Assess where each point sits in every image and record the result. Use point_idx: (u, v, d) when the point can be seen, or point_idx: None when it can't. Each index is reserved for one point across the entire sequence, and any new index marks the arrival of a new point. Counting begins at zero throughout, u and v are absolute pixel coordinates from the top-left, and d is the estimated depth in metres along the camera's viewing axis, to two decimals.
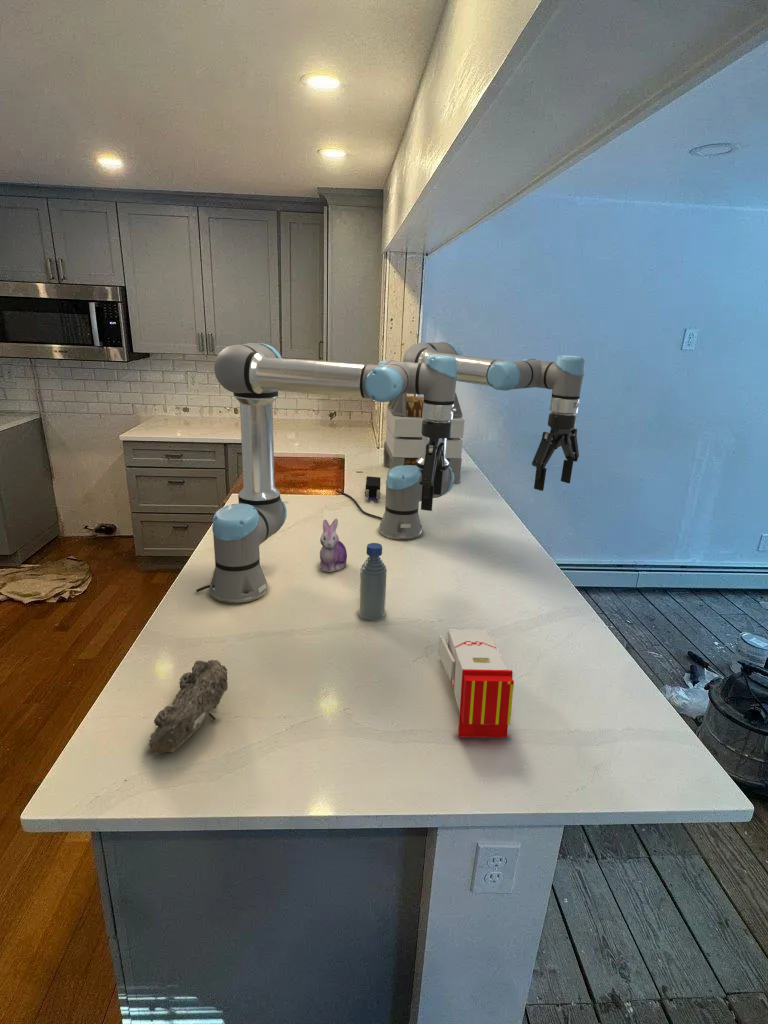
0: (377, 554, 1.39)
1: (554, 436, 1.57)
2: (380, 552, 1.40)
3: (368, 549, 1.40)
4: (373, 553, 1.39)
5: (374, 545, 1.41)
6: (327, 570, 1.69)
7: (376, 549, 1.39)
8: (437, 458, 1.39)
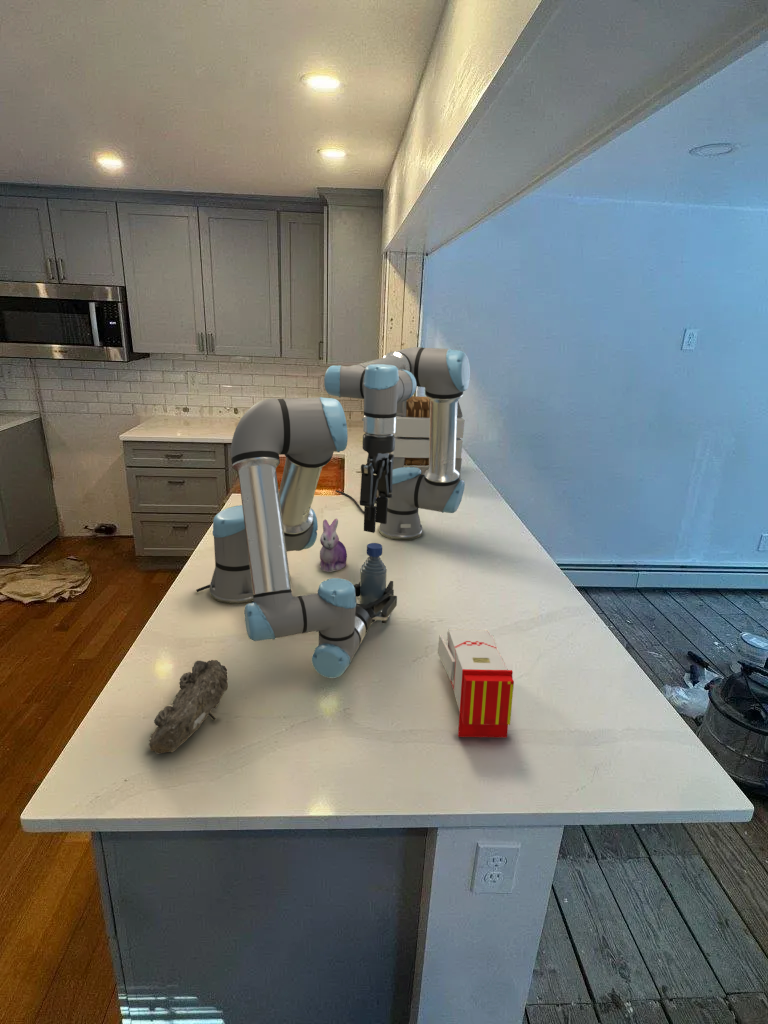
0: (377, 554, 1.39)
1: None
2: (380, 552, 1.40)
3: (368, 549, 1.40)
4: (373, 553, 1.39)
5: (374, 545, 1.41)
6: (327, 570, 1.69)
7: (376, 549, 1.39)
8: None
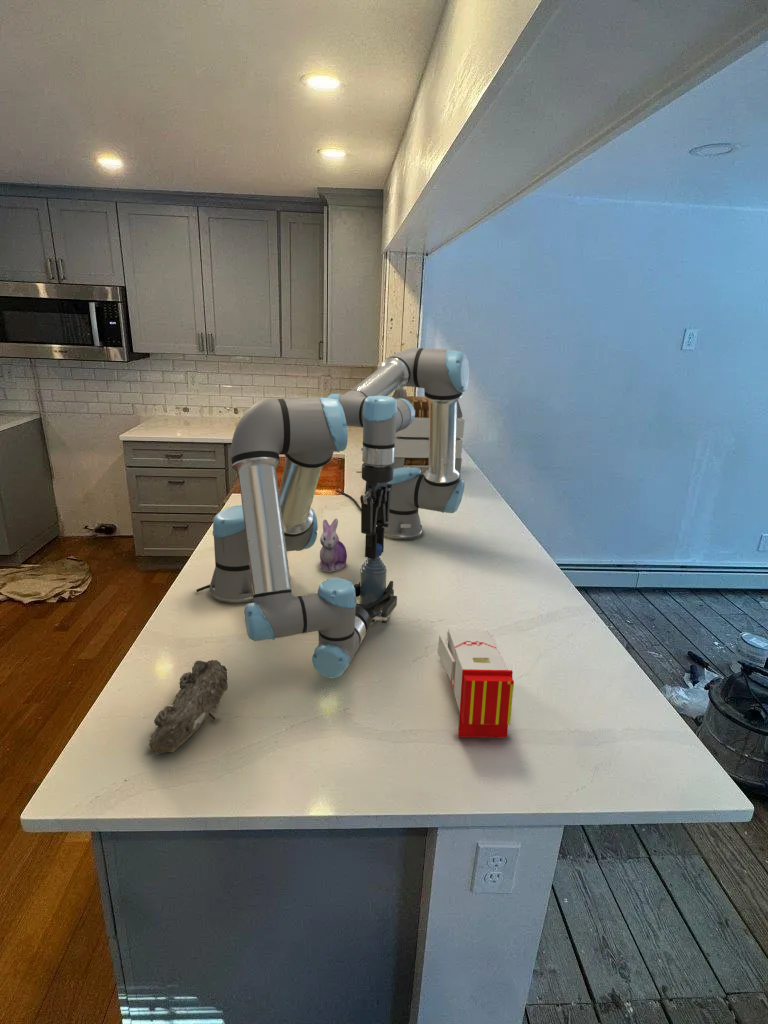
0: (377, 554, 1.39)
1: None
2: (380, 552, 1.40)
3: None
4: None
5: None
6: (327, 570, 1.69)
7: (376, 549, 1.39)
8: None
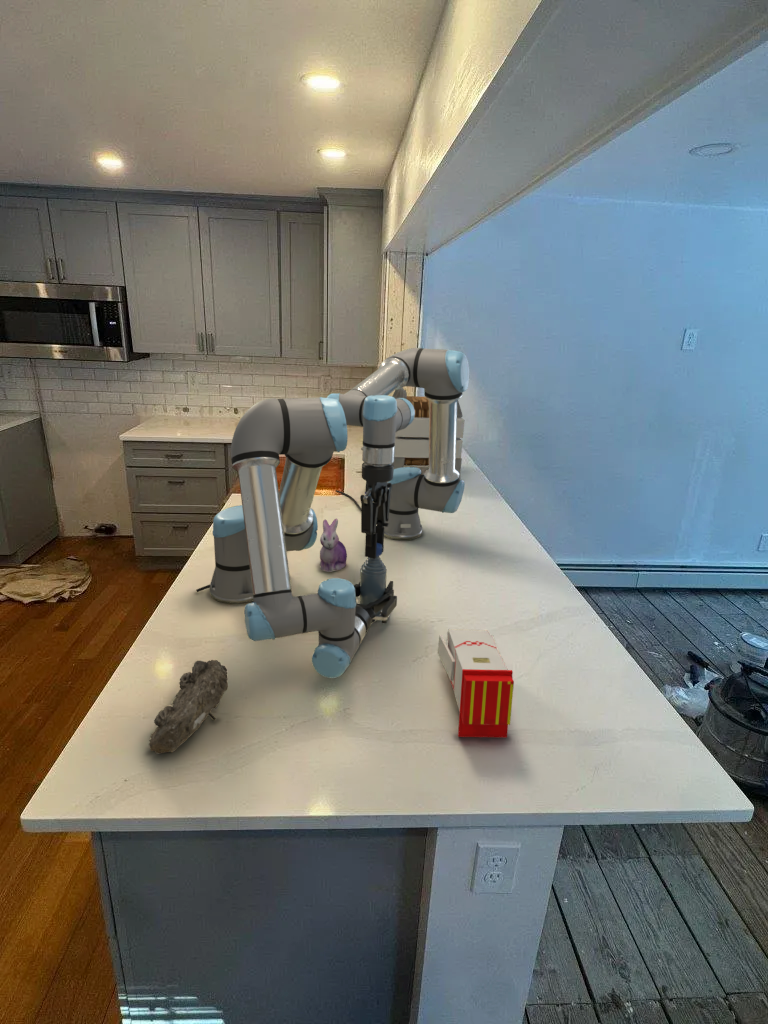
0: None
1: None
2: None
3: (381, 548, 1.40)
4: None
5: None
6: (327, 570, 1.69)
7: None
8: None
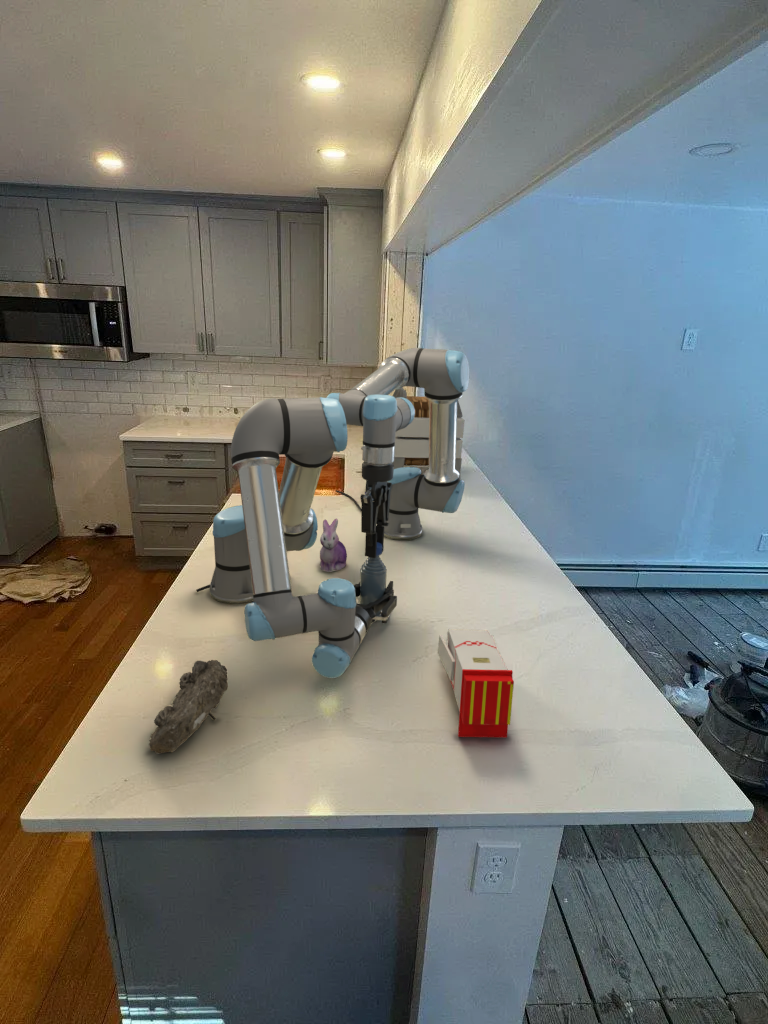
0: None
1: None
2: None
3: None
4: None
5: None
6: (327, 570, 1.69)
7: None
8: None
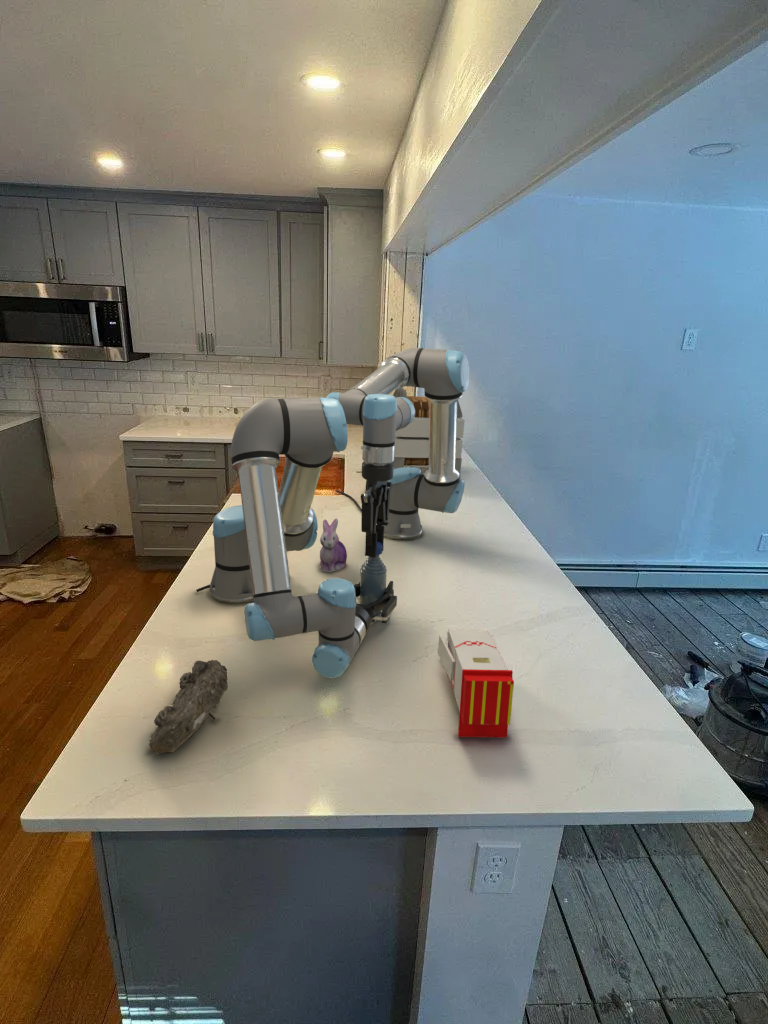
0: (377, 553, 1.39)
1: None
2: (380, 551, 1.40)
3: None
4: None
5: None
6: (327, 570, 1.69)
7: None
8: None
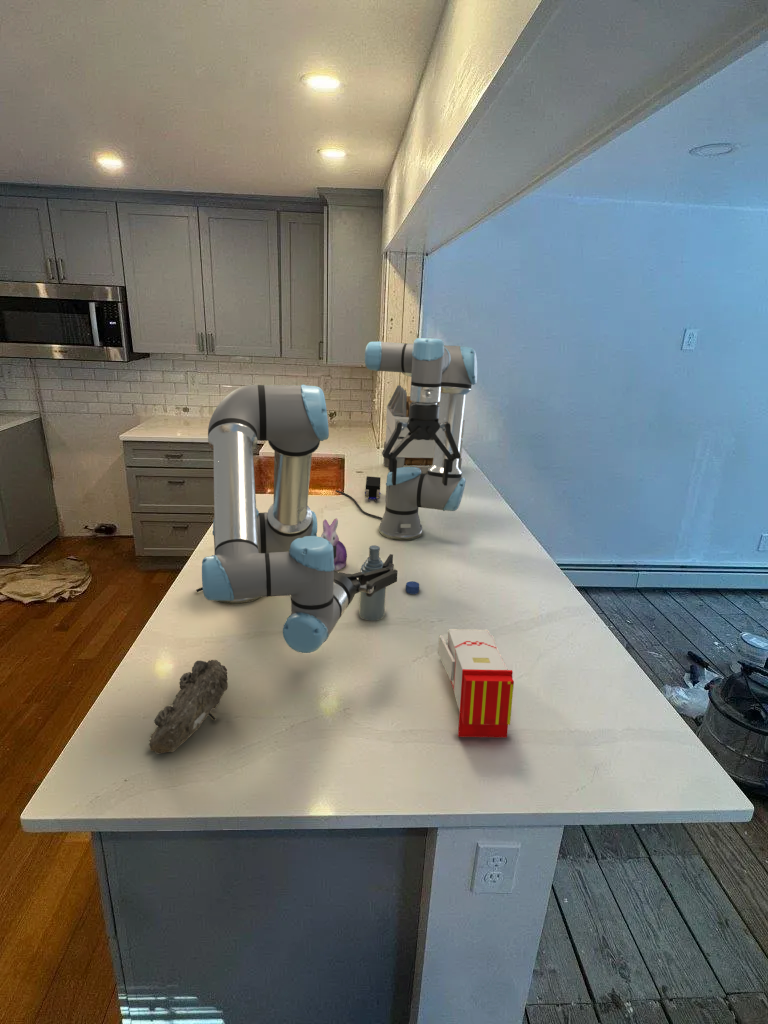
0: None
1: (408, 426, 1.43)
2: None
3: (418, 587, 1.59)
4: None
5: (412, 584, 1.59)
6: None
7: None
8: None
